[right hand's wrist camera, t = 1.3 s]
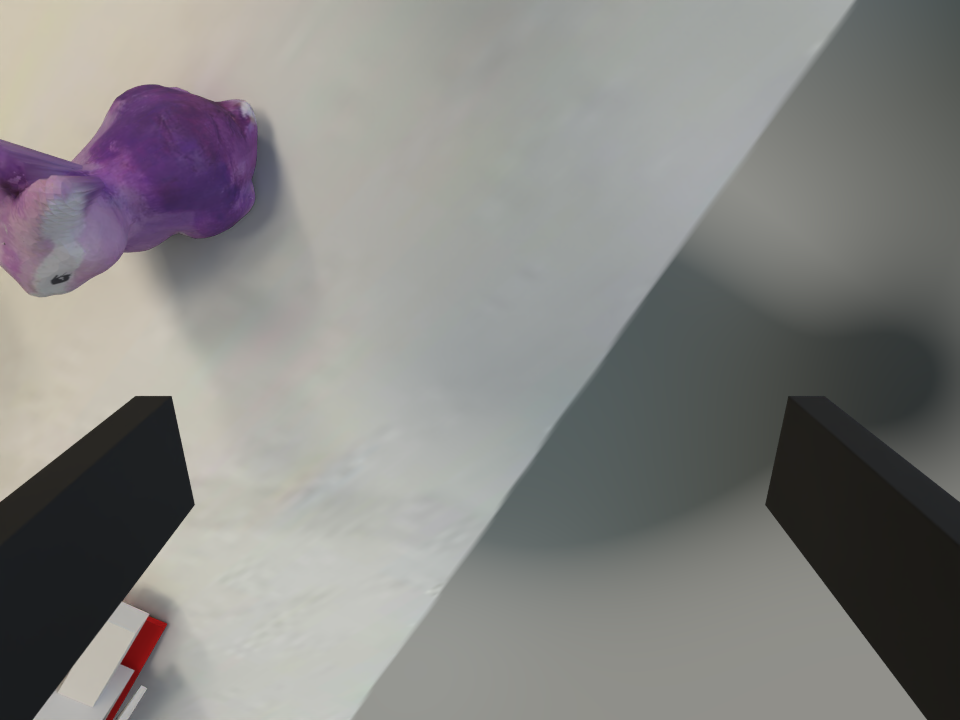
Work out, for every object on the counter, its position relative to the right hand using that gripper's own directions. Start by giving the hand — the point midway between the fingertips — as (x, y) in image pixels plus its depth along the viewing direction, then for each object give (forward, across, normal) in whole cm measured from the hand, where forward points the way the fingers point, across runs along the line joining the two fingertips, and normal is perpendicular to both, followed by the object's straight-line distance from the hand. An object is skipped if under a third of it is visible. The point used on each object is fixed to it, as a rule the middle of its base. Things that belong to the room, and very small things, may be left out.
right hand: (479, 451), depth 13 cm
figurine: (+27, -18, +4) cm, 32 cm away
